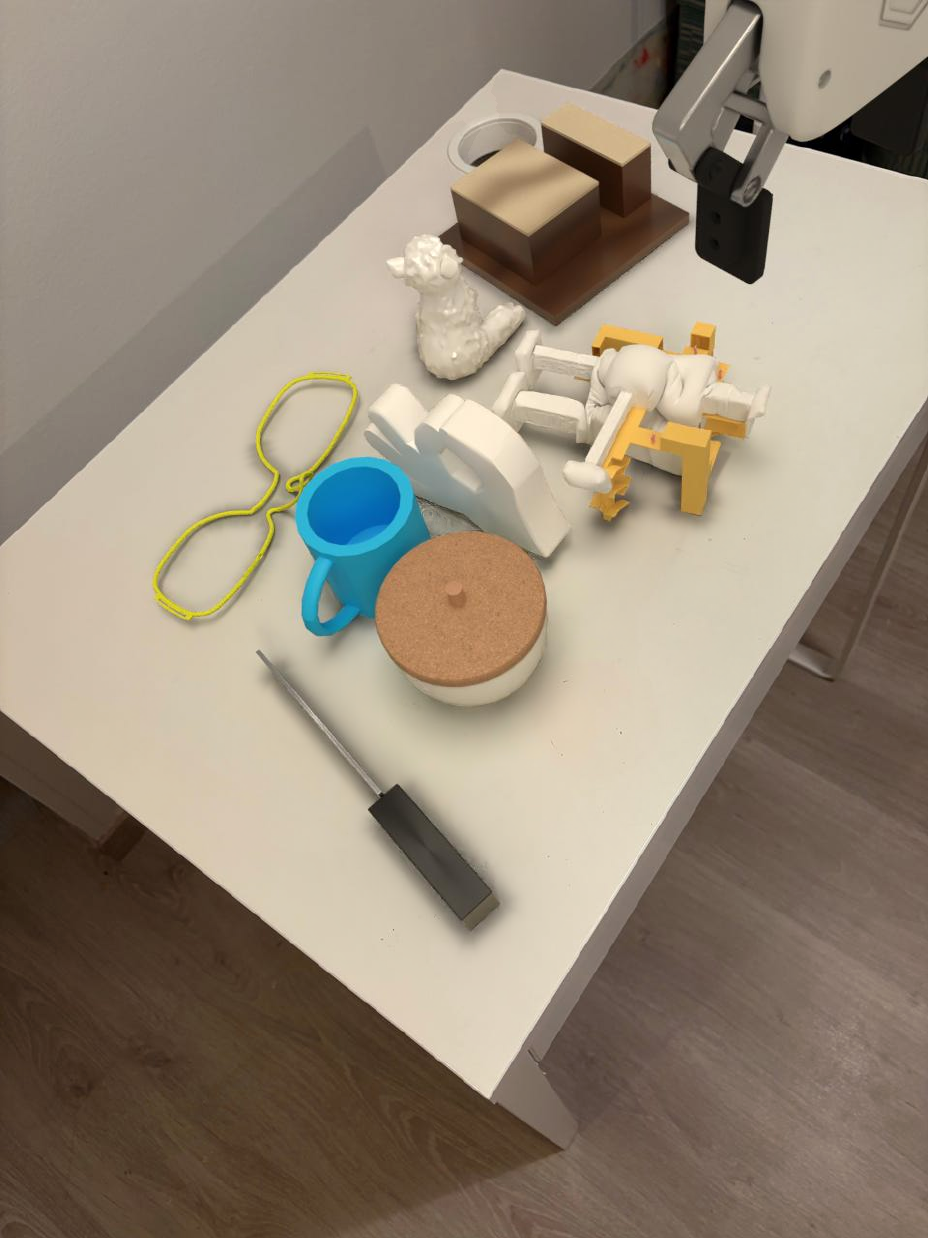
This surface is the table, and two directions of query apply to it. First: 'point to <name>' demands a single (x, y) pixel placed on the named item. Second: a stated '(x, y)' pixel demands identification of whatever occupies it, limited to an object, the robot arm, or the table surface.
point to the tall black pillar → (418, 839)
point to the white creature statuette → (451, 310)
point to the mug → (355, 535)
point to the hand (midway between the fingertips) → (808, 203)
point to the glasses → (247, 512)
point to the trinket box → (464, 617)
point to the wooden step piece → (601, 156)
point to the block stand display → (549, 230)
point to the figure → (635, 409)
